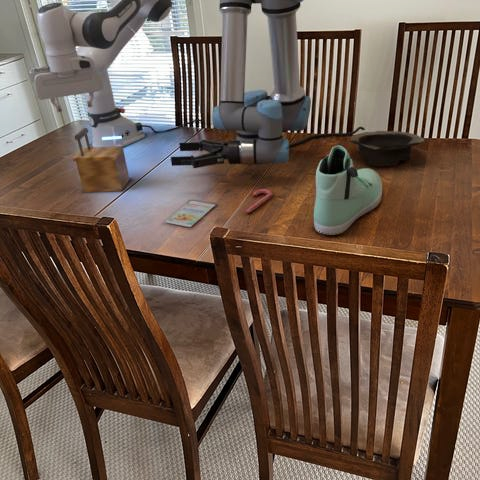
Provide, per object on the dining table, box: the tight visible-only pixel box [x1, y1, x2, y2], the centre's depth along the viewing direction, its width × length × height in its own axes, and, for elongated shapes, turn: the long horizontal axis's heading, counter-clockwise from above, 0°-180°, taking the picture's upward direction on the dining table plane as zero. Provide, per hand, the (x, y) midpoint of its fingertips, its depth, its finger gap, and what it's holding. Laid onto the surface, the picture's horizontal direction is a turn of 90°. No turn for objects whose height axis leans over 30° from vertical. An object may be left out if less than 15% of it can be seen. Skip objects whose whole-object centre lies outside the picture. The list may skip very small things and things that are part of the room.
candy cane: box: [245, 188, 273, 215], centre depth 146 cm, size 6×15×2 cm, turn 145°
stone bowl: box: [349, 130, 426, 167], centre depth 167 cm, size 25×25×9 cm
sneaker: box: [313, 145, 383, 236], centre depth 133 cm, size 14×35×20 cm, turn 152°
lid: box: [71, 127, 124, 162], centre depth 157 cm, size 14×9×8 cm, turn 85°
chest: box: [75, 149, 130, 193], centre depth 162 cm, size 13×9×11 cm
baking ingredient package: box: [164, 200, 216, 228], centre depth 143 cm, size 9×1×15 cm
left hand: (75, 109), depth 152 cm, fingers open, 8 cm apart
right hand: (175, 153), depth 156 cm, fingers open, 13 cm apart
